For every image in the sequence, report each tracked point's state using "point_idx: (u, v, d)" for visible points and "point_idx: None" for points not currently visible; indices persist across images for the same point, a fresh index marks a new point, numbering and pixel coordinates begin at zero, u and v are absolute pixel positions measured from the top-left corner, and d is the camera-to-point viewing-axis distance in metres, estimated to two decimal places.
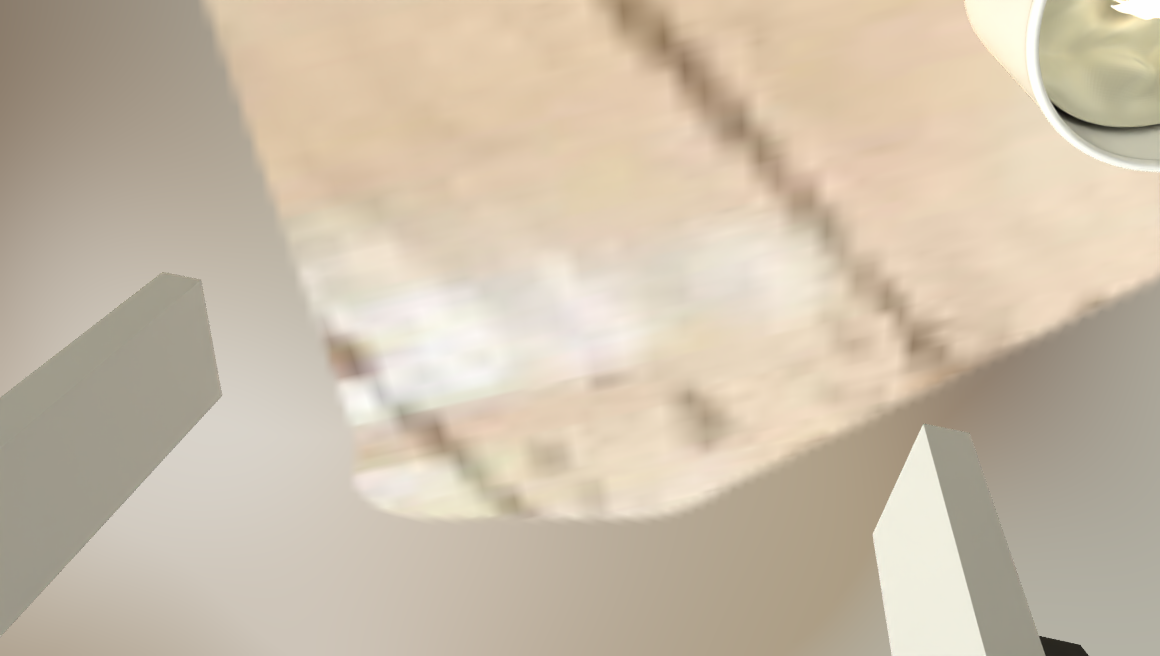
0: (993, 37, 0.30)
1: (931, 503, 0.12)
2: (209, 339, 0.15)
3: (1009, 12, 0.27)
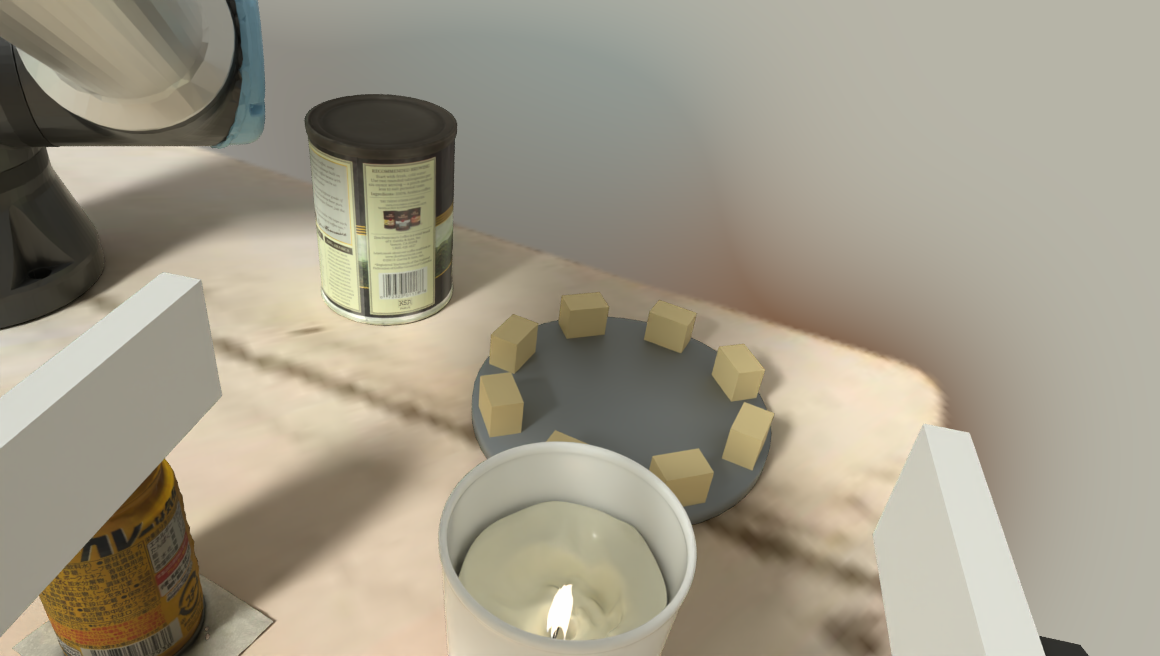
0: None
1: (931, 503, 0.12)
2: (209, 339, 0.15)
3: (455, 629, 0.30)
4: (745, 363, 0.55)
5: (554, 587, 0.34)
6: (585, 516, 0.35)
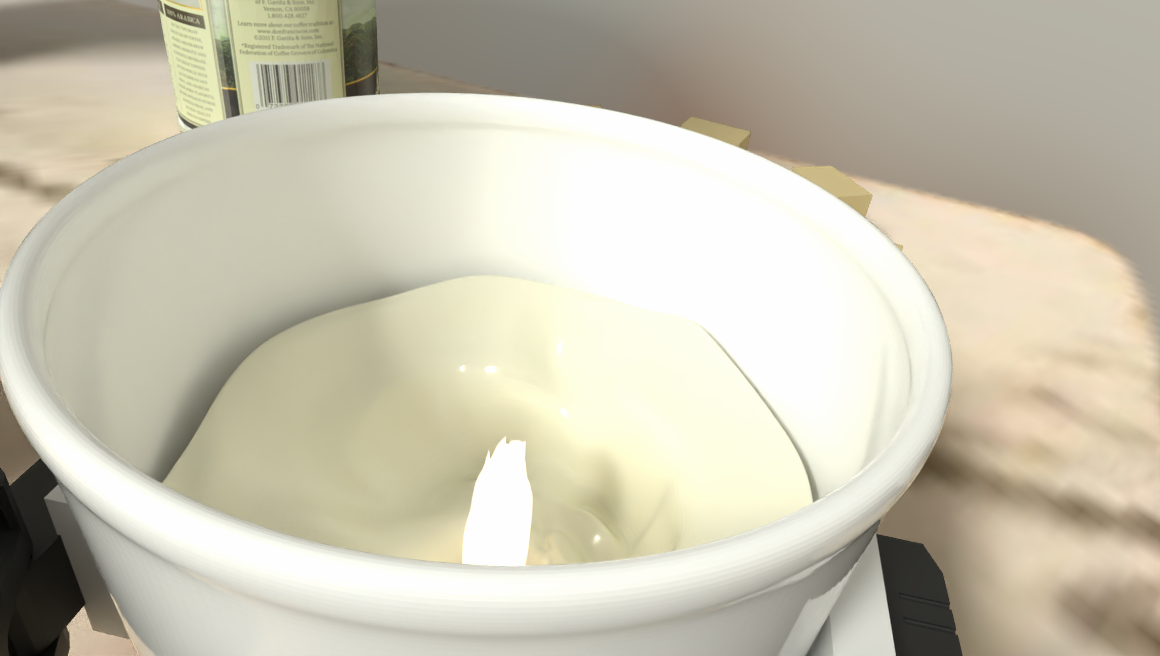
0: None
1: None
2: None
3: None
4: (839, 186, 0.33)
5: None
6: (569, 308, 0.14)
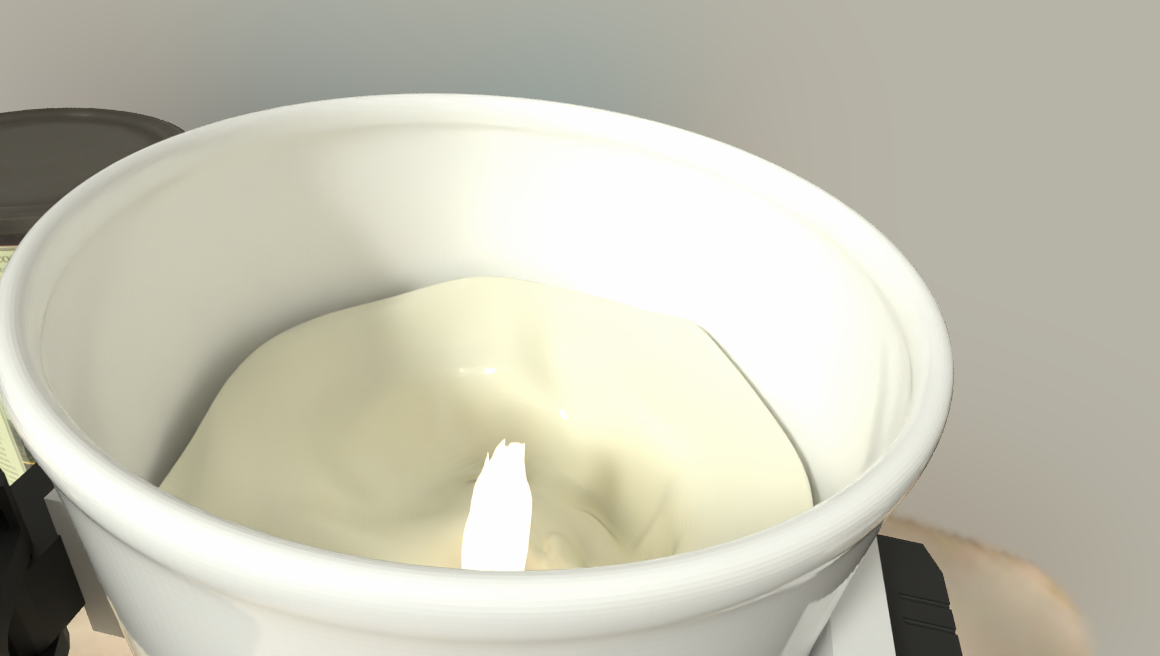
0: None
1: None
2: None
3: None
4: None
5: None
6: (569, 309, 0.14)
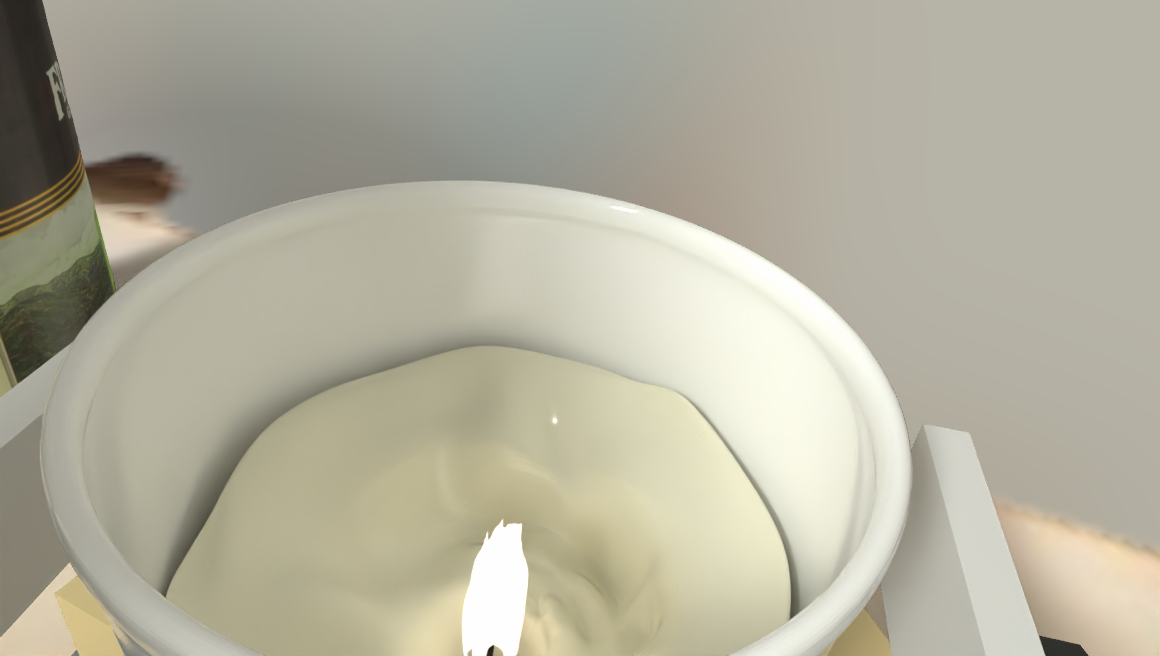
0: None
1: (931, 503, 0.12)
2: None
3: None
4: None
5: None
6: (564, 378, 0.15)
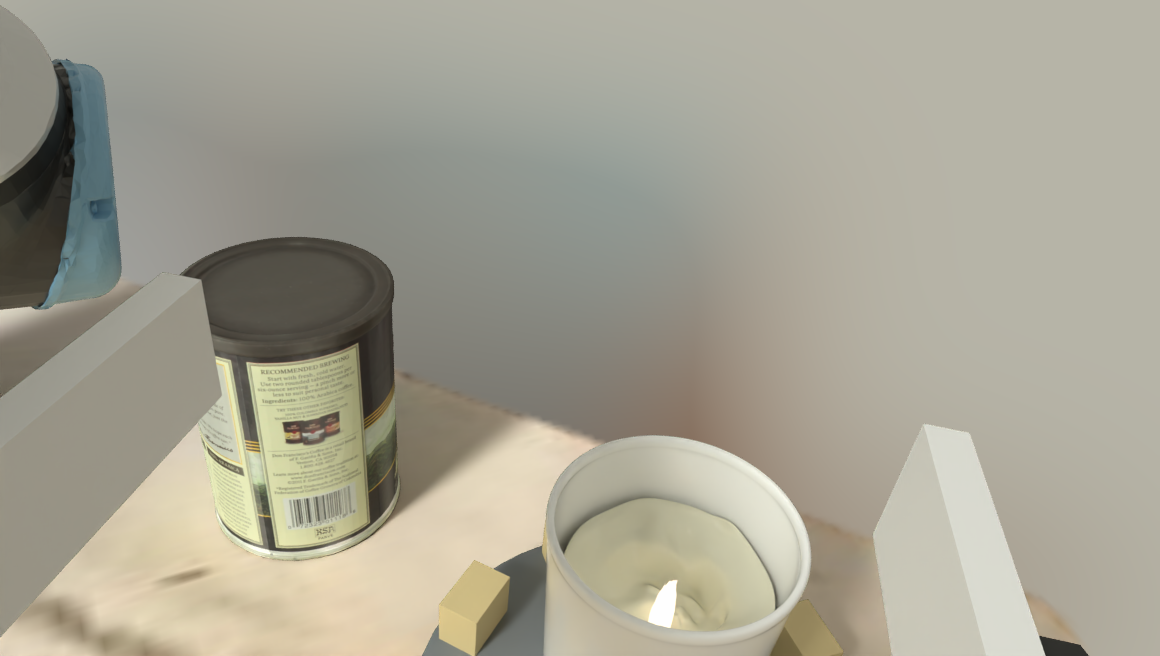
0: None
1: (931, 503, 0.12)
2: (209, 339, 0.15)
3: (564, 626, 0.29)
4: (813, 640, 0.37)
5: (651, 585, 0.34)
6: (680, 513, 0.34)
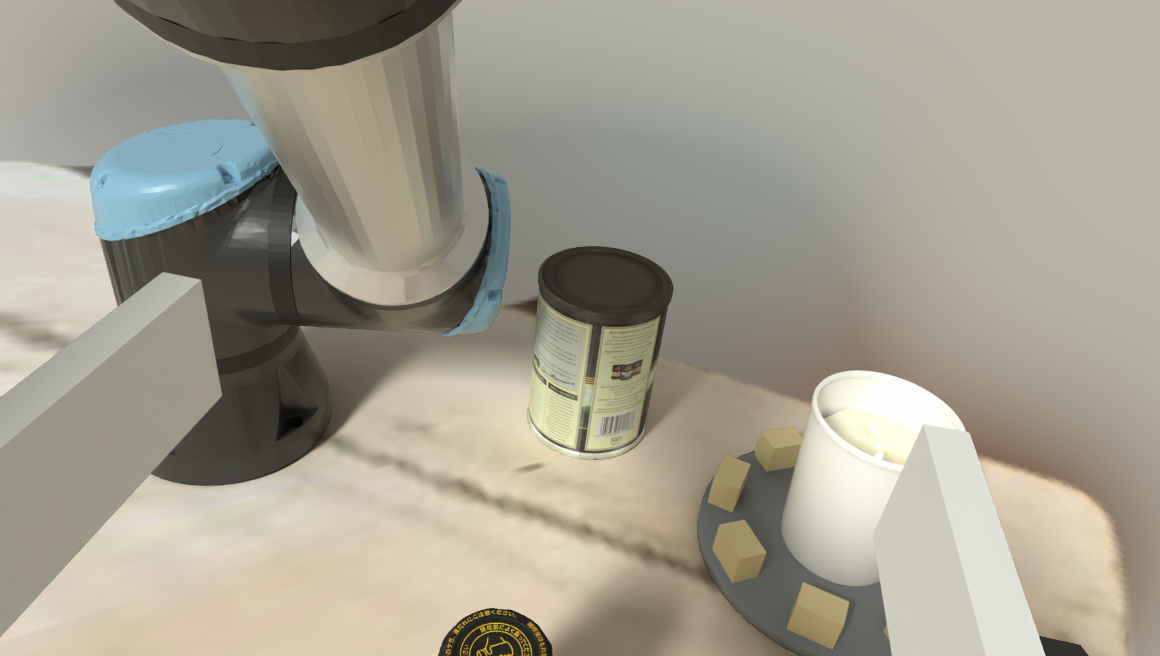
0: (835, 515, 0.52)
1: (931, 503, 0.12)
2: (209, 339, 0.15)
3: (827, 473, 0.51)
4: None
5: None
6: (872, 418, 0.57)
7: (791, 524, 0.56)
